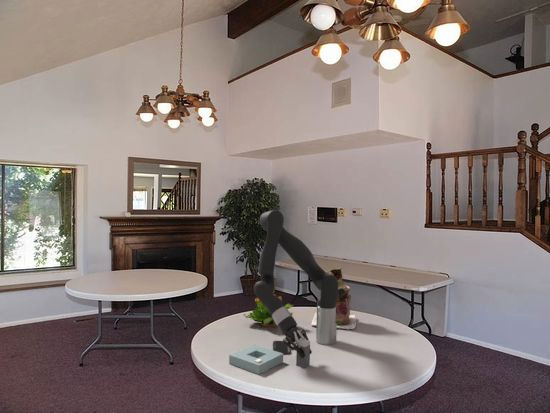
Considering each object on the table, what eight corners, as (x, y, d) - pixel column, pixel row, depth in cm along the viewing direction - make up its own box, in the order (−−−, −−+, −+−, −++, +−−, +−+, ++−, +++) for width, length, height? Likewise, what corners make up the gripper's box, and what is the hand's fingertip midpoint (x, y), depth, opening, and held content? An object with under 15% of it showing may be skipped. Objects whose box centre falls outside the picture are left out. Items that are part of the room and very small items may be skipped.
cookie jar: (314, 315, 234) (315, 263, 234) (355, 318, 229) (356, 265, 229) (310, 327, 209) (311, 269, 210) (356, 331, 204) (357, 271, 205)
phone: (289, 341, 184) (290, 352, 169) (289, 343, 184) (290, 355, 169) (272, 340, 184) (272, 352, 169) (272, 343, 184) (272, 354, 169)
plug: (301, 362, 160) (302, 338, 160) (309, 365, 158) (310, 340, 158) (296, 365, 157) (296, 341, 157) (304, 368, 155) (305, 343, 155)
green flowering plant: (267, 315, 229) (268, 286, 229) (301, 323, 215) (302, 292, 216) (240, 325, 209) (241, 293, 209) (275, 334, 195) (276, 300, 195)
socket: (254, 352, 170) (254, 343, 170) (283, 361, 160) (283, 352, 160) (229, 363, 157) (229, 353, 157) (258, 374, 148) (259, 363, 148)
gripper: (279, 318, 157) (303, 355, 149) (298, 311, 168) (321, 345, 160) (268, 328, 160) (292, 365, 152) (288, 321, 171) (310, 355, 164)
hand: (307, 355), depth 156 cm, fingers closed on plug, 4 cm apart
